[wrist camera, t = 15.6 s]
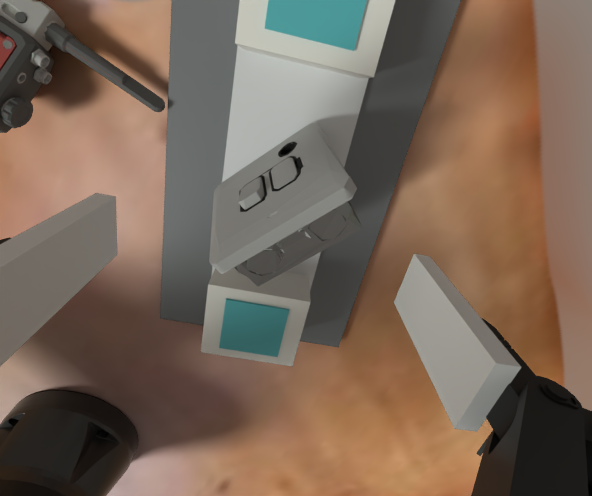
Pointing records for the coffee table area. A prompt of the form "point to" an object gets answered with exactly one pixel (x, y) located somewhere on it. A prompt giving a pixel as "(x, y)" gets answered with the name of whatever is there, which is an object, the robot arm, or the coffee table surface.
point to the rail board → (275, 129)
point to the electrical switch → (282, 208)
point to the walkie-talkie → (45, 60)
